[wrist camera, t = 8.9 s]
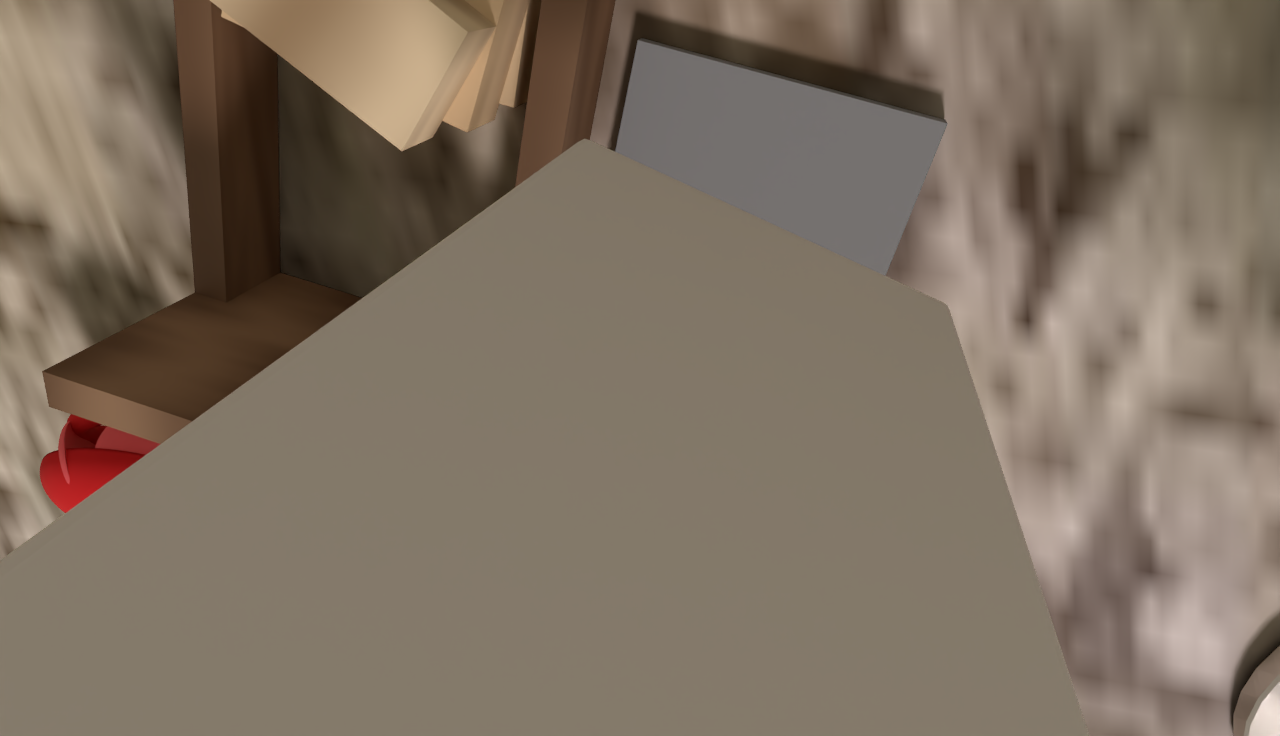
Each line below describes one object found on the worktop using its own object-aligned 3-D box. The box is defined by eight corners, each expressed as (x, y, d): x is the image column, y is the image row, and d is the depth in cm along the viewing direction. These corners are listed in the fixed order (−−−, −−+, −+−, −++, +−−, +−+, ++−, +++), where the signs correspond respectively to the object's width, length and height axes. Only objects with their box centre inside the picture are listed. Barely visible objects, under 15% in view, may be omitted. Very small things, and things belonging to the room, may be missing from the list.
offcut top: (496, 26, 20) (467, 32, 19) (432, 137, 22) (401, 151, 20) (283, -149, 19) (235, -159, 18) (235, -19, 21) (187, -18, 19)
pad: (945, 119, 22) (947, 123, 22) (837, 384, 27) (837, 392, 26) (642, 38, 23) (637, 40, 22) (586, 308, 27) (581, 315, 27)
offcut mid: (532, -12, 21) (506, -9, 20) (494, 119, 23) (466, 132, 22) (284, -128, 21) (236, -136, 20) (266, 12, 23) (221, 16, 22)
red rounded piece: (24, 434, 32) (45, 579, 31) (37, 391, 28) (62, 557, 27) (234, 410, 38) (258, 533, 37) (271, 371, 33) (299, 509, 32)
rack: (627, -66, 22) (510, -80, 14) (544, 383, 29) (437, 537, 21) (236, -167, 23) (-74, -232, 15) (252, 291, 30) (49, 406, 22)
